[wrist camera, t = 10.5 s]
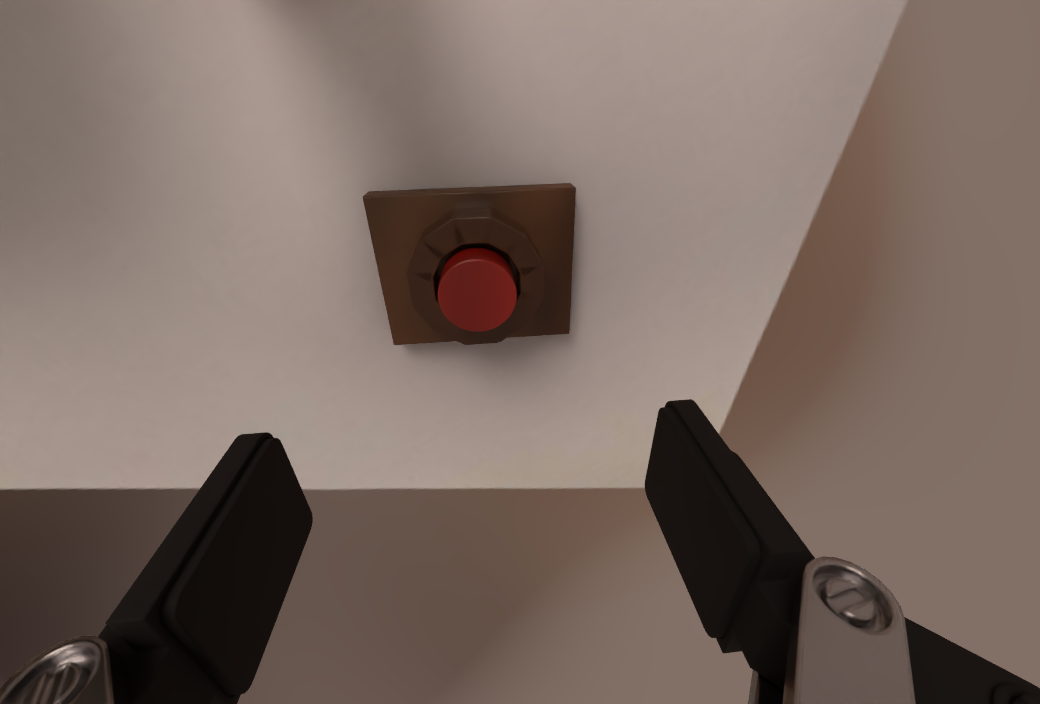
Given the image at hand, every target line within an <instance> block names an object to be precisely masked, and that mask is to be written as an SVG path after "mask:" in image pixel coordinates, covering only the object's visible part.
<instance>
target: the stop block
mask: <svg viewBox="0 0 1040 704" xmlns="http://www.w3.org/2000/svg"><path fill="white" fill-rule="evenodd" d="M575 193H576V188H575V187H574V186H573V185H572V184H571V183H564V184H540V185H516V186H493V187H469V188H445V189H421V190H397V191H373V192H368V193H367V194H365V195H364V196H363V201H364V206H365V210H366V215H367V220H368V225H369V229H370V234H371V239H372V243H373V248H374V253H375V258H376V262H377V267H378V272H379V277H380V281H381V286H382V291H383V295H384V300H385V305H386V310H387V314H388V319H389V324H390V329H391V333H392V338H393V343H394V345H403V344H418V343H434V342H449V341H457V342H460V343H462V344H465V345H471V344H486V343H498V342H500V341H502V340H504V339H506V338H510V337H526V336H541V335H556V334H569V331H570V308H571V285H572V262H573V239H574V216H575ZM468 248H485V249H489V250H491V251H494V252H496V253H497V254H499V255H500V256H501V257H503V258H504V259H505V260H506V262H507V263H508V264H509V266H510V268H511V270H512V272H513V276H514V281H515V285H516V291H517V300H516V305H515V308H514V310H513V312H512V314H511V315H510V317H509V318H508V319H507V320H506V321H505V322H504V323H503V324H501V325H500V326H498V327H496V328H494V329H491V330H488V331H482V332H474V331H468V330H464V329H462V328H459V327H457V326H456V325H454V324H453V323H452V322H450V321H449V320H448V319H447V318H446V317H445V315H444V314H443V312H442V310H441V308H440V306H439V302H438V287H439V282H440V277H441V272H442V270H443V267H444V266H445V264H446V262H447V261H448V260H449V259H450V258H451V257H452V256H453V255H455V254H456V253H458V252H460V251H462V250H464V249H468Z"/></svg>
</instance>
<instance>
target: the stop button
mask: <svg viewBox="0 0 1040 704" xmlns="http://www.w3.org/2000/svg"><path fill="white" fill-rule="evenodd" d="M516 300H517V291H516V285H515V281H514V276H513V272H512V270H511V268H510V266H509V264H508V263H507V262H506V260H505V259H504V258H503V257H501V256H500V255H499V254H497V253H496V252H494V251H491V250H489V249H485V248H468V249H464V250H462V251H460V252H458V253H456V254H455V255H453V256H452V257H451V258H450V259H449V260H448V261H447V262H446V264H445V266H444V267H443V270H442V272H441V277H440V282H439V287H438V302H439V306H440V308H441V310H442V312H443V314H444V315H445V317H446V318H447V319H448V320H449V321H450V322H452V323H453V324H454V325H456V326H457V327H459V328H462V329H464V330H468V331H474V332H482V331H488V330H491V329H494V328H496V327H498V326H500V325H501V324H503V323H504V322H505V321H506V320H507V319H508V318H509V317H510V315H511V314H512V312H513V310H514V308H515V305H516Z"/></svg>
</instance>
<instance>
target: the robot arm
mask: <svg viewBox="0 0 1040 704" xmlns="http://www.w3.org/2000/svg"><path fill="white" fill-rule="evenodd" d="M645 491H646V495H647V498H648V500H649V502H650V505H651V507H652V509H653V512H654V514H655V516H656V518H657V521H658V523H659V525H660V528H661V530H662V532H663V535H664V537H665V539H666V542H667V544H668V546H669V548H670V550H671V553H672V555H673V557H674V560H675V562H676V565H677V567H678V569H679V571H680V574H681V576H682V578H683V580H684V583H685V585H686V588H687V590H688V592H689V594H690V596H691V599H692V601H693V604H694V606H695V608H696V611H697V613H698V615H699V617H700V620H701V622H702V624H703V627H704V629H705V631H706V632H707V634H708V635H709V636H710V637H711V638H716V639H717V641H718V644H719V646H720V648H721V650H722V652H723V653H730V652H738V651H742V652H743V653H744V656H745V658H746V660H747V662H748V664H749V666H750V668H752V669H753V674H752V680H751V687H750V694H749V701H748V704H1040V688H1038V687H1037V686H1035V685H1033V684H1031V683H1029V682H1027V681H1026V680H1023V679H1022V678H1020V677H1018V676H1016V675H1014V674H1012V673H1010V672H1008V671H1006V670H1005V669H1003V668H1001V667H999V666H997V665H995V664H993V663H991V662H989V661H987V660H985V659H983V658H982V657H979V656H978V655H976V654H974V653H972V652H970V651H968V650H966V649H964V648H962V647H961V646H958V645H957V644H955V643H953V642H951V641H949V640H947V639H945V638H943V637H941V636H940V635H938V634H936V633H934V632H932V631H930V630H928V629H926V628H924V627H922V626H920V625H918V624H916V623H915V622H913V621H911V620H909V619H907V618H905V617H904V615H903V612H902V609H901V606H900V605H899V603H898V602H897V600H896V598H895V597H894V595H893V594H892V593H891V591H890V590H889V589H888V588H887V587H886V586H885V585H884V584H883V583H882V582H881V581H880V580H878V579H877V578H876V577H875V576H873V575H872V574H870V573H869V572H868V571H866V570H865V569H863V568H861V567H859V566H857V565H855V564H853V563H851V562H849V561H845V560H842V559H839V558H834V557H820V558H816V559H815V558H814V556H813V555H812V554H811V553H810V551H809V550H808V548H807V547H806V546H805V544H804V543H803V542H802V540H801V539H800V537H799V536H798V535H797V533H796V532H795V531H794V529H793V528H792V527H791V525H790V524H789V523H788V521H787V520H786V519H785V517H784V516H783V515H782V513H781V512H780V511H779V509H778V508H777V507H776V505H775V504H774V502H773V501H772V500H771V498H770V497H769V496H768V495H767V493H766V492H765V491H764V489H763V488H762V486H761V485H760V484H759V482H758V481H757V480H756V478H755V477H754V476H753V474H752V473H751V472H750V470H749V469H748V467H747V466H746V465H745V463H744V462H743V461H742V460H741V458H740V457H739V456H738V455H737V454H736V453H734V452H732V451H731V450H730V449H729V448H728V446H727V445H726V444H725V442H724V441H723V439H722V438H721V437H720V436H719V434H718V433H717V431H716V430H715V429H714V427H713V426H712V424H711V423H710V422H709V420H708V419H707V418H706V416H705V415H704V413H703V412H702V411H701V409H700V408H699V407H698V405H697V404H696V403H695V402H694V401H693V400H691V399H690V400H677V401H668V402H667V403H666V405H665V407H663V408H660V409H659V412H658V417H657V422H656V428H655V433H654V438H653V443H652V448H651V453H650V459H649V464H648V469H647V474H646V479H645ZM312 519H313V518H312V512H311V510H310V507H309V505H308V503H307V501H306V498H305V496H304V494H303V491H302V489H301V487H300V484H299V482H298V480H297V477H296V475H295V473H294V471H293V468H292V466H291V464H290V461H289V459H288V457H287V454H286V452H285V450H284V448H283V445H282V443H281V441H280V440H279V439H278V438H273V436H272V435H271V434H270V433H254V434H242V435H239V436H238V437H237V438H236V439H235V440H234V442H233V443H232V445H231V446H230V447H229V449H228V450H227V452H226V453H225V454H224V456H223V457H222V459H221V460H220V462H219V463H218V464H217V466H216V467H215V469H214V470H213V471H212V473H211V474H210V476H209V477H208V479H207V480H206V481H205V483H204V484H203V486H202V487H201V488H200V490H199V491H198V493H197V494H196V496H195V497H194V498H193V500H192V501H191V503H190V504H189V506H188V507H187V508H186V510H185V511H184V513H183V514H182V515H181V517H180V518H179V520H178V521H177V522H176V524H175V525H174V527H173V528H172V530H171V531H170V533H169V534H168V535H167V537H166V538H165V539H164V541H163V542H162V544H161V545H160V547H159V548H158V549H157V551H156V552H155V554H154V555H153V557H152V558H151V559H150V561H149V562H148V564H147V565H146V566H145V568H144V569H143V571H142V572H141V574H140V575H139V576H138V578H137V579H136V581H135V582H134V583H133V585H132V586H131V588H130V589H129V591H128V592H127V593H126V595H125V596H124V598H123V599H122V600H121V602H120V603H119V605H118V606H117V608H116V609H115V611H114V612H113V613H112V615H111V616H110V618H109V619H108V620H107V622H106V624H107V625H106V626H105V628H104V629H103V631H102V632H101V633H100V635H99V636H98V637H96V636H80V637H77V638H73V639H69V640H66V641H64V642H62V643H60V644H58V645H56V646H53V647H51V648H49V649H47V650H46V651H45V652H43V653H41V654H40V655H38V656H37V657H35V658H34V659H32V660H31V661H29V662H28V663H27V664H25V665H24V666H23V667H22V668H21V669H20V670H19V671H17V672H16V673H15V674H14V675H13V676H11V677H10V678H9V679H8V681H6V683H5V684H4V685H3V686H2V687H1V688H0V704H237V702H238V700H239V697H240V695H241V694H243V693H245V692H246V691H247V690H248V689H249V688H250V686H251V684H252V682H253V679H254V677H255V674H256V672H257V669H258V666H259V664H260V661H261V659H262V656H263V653H264V651H265V648H266V646H267V643H268V640H269V638H270V635H271V632H272V630H273V627H274V625H275V622H276V619H277V617H278V614H279V611H280V609H281V606H282V603H283V601H284V598H285V596H286V593H287V591H288V588H289V585H290V582H291V580H292V577H293V575H294V572H295V570H296V567H297V564H298V562H299V559H300V556H301V554H302V551H303V549H304V546H305V543H306V541H307V538H308V535H309V533H310V530H311V527H312Z"/></svg>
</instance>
